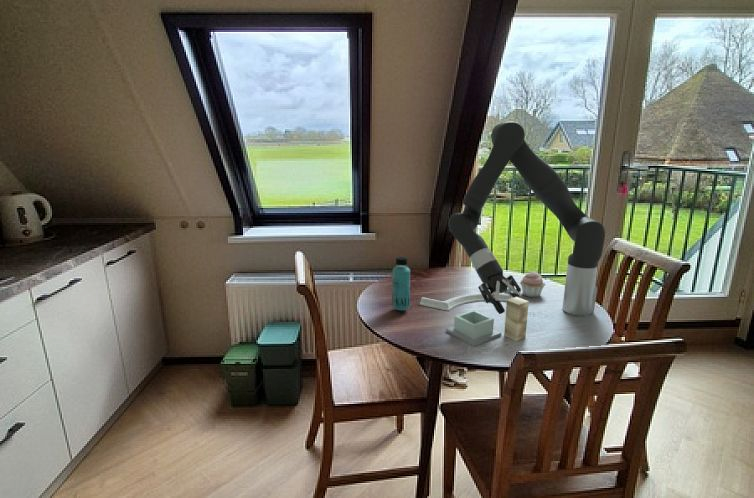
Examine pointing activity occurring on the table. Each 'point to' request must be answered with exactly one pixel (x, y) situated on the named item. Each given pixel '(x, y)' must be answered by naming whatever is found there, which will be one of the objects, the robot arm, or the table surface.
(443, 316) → the table surface
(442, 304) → the molding
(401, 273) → the beverage bottle
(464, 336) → the square socket base
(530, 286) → the cupcake
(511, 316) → the wooden block
